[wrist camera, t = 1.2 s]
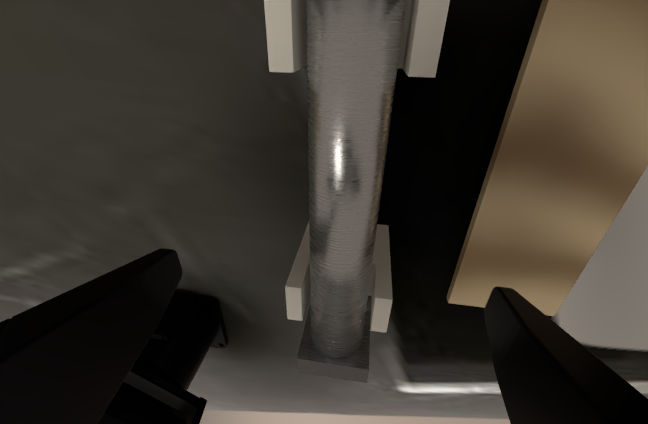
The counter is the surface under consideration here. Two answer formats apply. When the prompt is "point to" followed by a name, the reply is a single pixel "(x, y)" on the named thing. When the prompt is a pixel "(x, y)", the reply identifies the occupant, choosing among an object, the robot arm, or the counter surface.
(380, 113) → the rail
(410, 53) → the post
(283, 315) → the counter surface
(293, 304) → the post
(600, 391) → the robot arm
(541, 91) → the board
